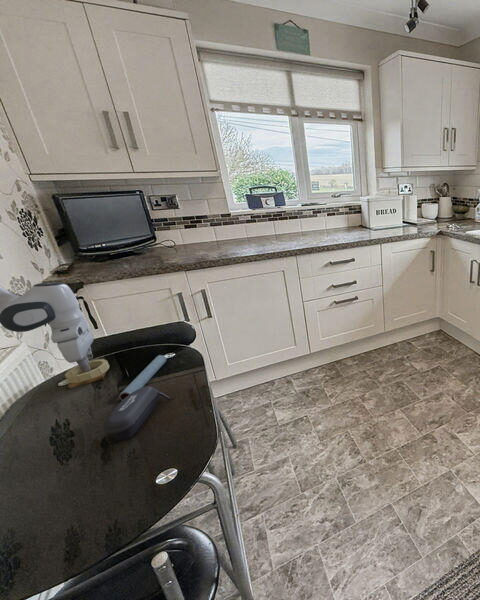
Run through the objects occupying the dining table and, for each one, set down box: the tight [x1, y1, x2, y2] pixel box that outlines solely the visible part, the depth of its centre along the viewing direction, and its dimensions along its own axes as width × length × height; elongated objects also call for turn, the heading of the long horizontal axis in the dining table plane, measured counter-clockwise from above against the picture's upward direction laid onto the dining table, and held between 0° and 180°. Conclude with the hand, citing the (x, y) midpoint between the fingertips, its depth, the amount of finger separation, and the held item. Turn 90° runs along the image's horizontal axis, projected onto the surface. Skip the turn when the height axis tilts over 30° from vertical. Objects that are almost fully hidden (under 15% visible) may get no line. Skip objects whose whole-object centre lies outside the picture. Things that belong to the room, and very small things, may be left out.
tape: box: [64, 358, 110, 383], centre depth 113 cm, size 11×11×2 cm
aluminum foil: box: [118, 354, 168, 401], centre depth 108 cm, size 23×7×3 cm, turn 11°
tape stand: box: [67, 356, 108, 389], centre depth 111 cm, size 9×9×14 cm
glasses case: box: [103, 385, 171, 442], centre depth 89 cm, size 18×10×8 cm, turn 13°
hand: (88, 361), depth 116 cm, fingers open, 3 cm apart
